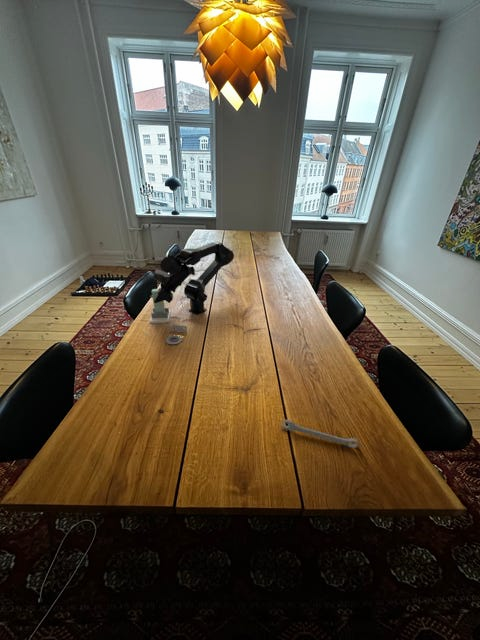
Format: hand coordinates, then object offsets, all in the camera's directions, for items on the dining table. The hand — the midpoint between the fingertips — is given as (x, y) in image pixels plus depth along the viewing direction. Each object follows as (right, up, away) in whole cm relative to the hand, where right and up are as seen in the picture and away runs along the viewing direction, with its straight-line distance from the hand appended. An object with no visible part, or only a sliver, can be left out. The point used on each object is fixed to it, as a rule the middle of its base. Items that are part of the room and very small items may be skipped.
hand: (155, 300), depth 114 cm
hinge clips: (+1, -7, +5) cm, 9 cm away
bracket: (+12, -16, -9) cm, 22 cm away
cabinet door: (+1, -6, +4) cm, 8 cm away
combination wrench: (+58, -40, -46) cm, 84 cm away
